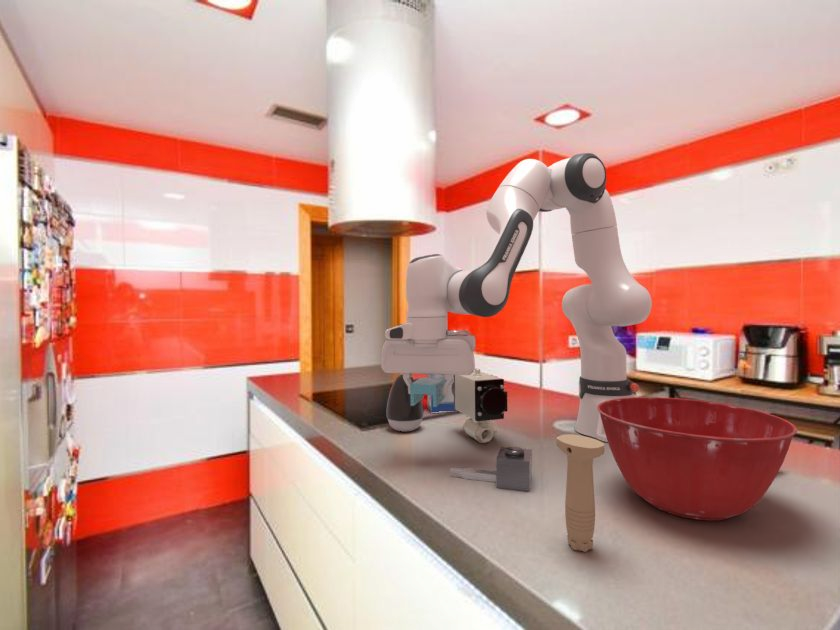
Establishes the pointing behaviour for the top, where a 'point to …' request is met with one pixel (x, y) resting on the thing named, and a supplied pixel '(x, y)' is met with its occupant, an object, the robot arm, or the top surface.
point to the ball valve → (480, 403)
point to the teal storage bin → (426, 390)
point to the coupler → (504, 470)
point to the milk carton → (447, 402)
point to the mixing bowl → (695, 453)
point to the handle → (580, 488)
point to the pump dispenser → (403, 407)
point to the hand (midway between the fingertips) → (428, 394)
